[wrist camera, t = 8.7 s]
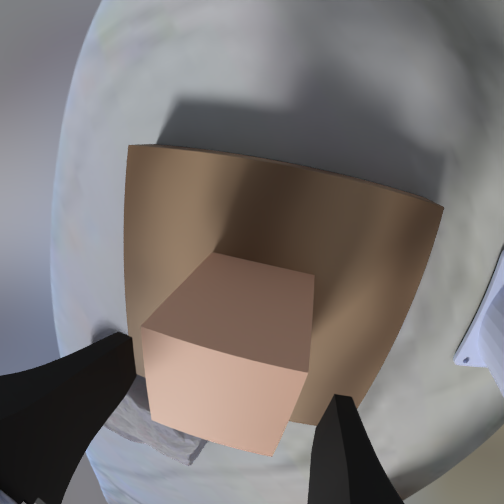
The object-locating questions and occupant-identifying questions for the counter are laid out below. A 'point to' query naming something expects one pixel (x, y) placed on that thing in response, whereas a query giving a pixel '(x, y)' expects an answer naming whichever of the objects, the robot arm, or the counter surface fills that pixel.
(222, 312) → the terracotta block
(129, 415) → the stone block
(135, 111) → the counter surface
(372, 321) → the walnut base
